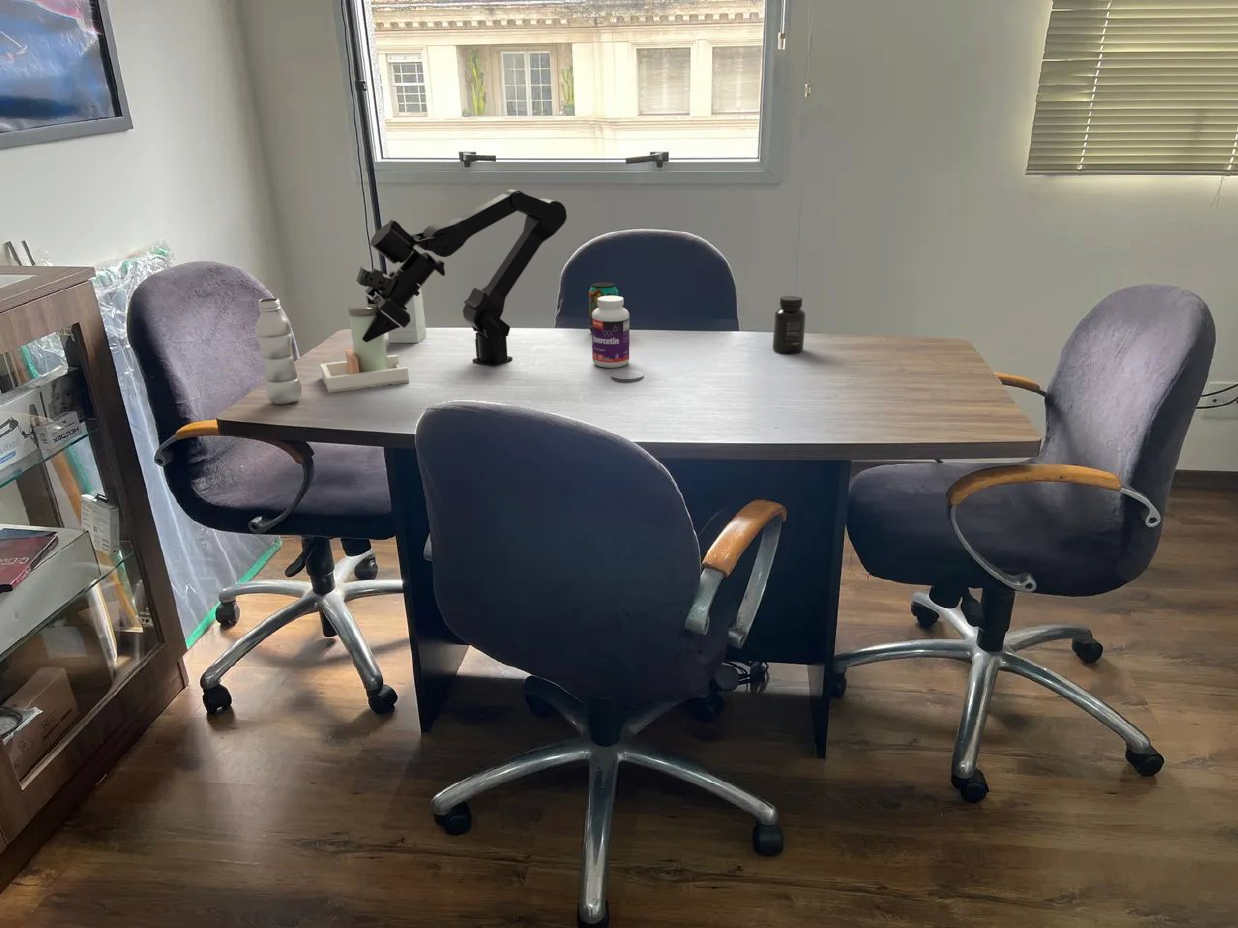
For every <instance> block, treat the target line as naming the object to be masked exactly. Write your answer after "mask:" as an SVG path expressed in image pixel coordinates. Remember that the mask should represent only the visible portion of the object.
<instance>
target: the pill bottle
mask: <svg viewBox="0 0 1238 928" xmlns="http://www.w3.org/2000/svg"><path fill="white" fill-rule="evenodd" d="M624 303H625V300H624V297H623V296H619V295H618V296H602V297H599V298H598V303H597V304H598V306H599V308H597V309H595V310H594V311H593V313H592V332H591V339H592V340H591V341H592V342H591V345H592V346H591V349H592V350H591V352H592V357H591V358H592V362H593V364H595V366H597V367H600V368H606V369H610V368H611V369H612V368H613V369H614V368H621V367H624V366H626V365H628V363H629V361H630V312H629V311H628V310H627V309H626V308H624V307H623V306H624Z"/></svg>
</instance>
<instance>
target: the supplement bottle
mask: <svg viewBox="0 0 1238 928" xmlns="http://www.w3.org/2000/svg"><path fill="white" fill-rule="evenodd" d="M779 307H780V308H778V309H777V310H775V313H774V321H773V335H772V349H773V351H774V352H775V353H778V354H783V355H796V354H800V353H802V352H803V350H804V345H805V344H804V342H805V332H806V331H805V330H806V312H805V311H804V310H803V309H802V307H803V297H800V296H795V295H785V296H781V297H780V299H779Z"/></svg>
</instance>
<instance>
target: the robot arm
mask: <svg viewBox="0 0 1238 928" xmlns="http://www.w3.org/2000/svg"><path fill="white" fill-rule="evenodd" d="M516 212H519V213H522V214H524V215H526V216H525V220H524V225H523V226H524V227H523V230H522V233H521V234H520V235H519V237H518V239H517V240H516V241H515V243H514V245H513V246H512V247H511V249H510V251H509V252H508V254H507V255H506V257H505V258H504V260H503V261H502V263H501V264H500V266H499V267H498V269H497V270H496V272H495V273H494V275H493V276H492V278H491V279H490V281H489V283H487V285H486V286H484V287H483V288H482V289H479V288H477V287H474V288H472V290H471V293H470V295H469V296H468V298H467V299H466V300H463V304H465V305H463V308H462V313H463V315H462V316H463V318H464V320H465V322H466V323H468V325H470V327H472V330H473V332H475V338H474V339H475V340H474V341H475V353H476V355H475V356H476V357H474V358H472V362H473V363H477V364H481V365H482V364H483V365H487V366H491V367H495V366H498V365H500V364H503V363H507V362H509V361H511V360H513V358H514V357H513V356H508V344H507V343H508V342H507V337H508V336H509V334H510V331H511V326H510V325H509V324H507V323H506V322H505V321H504V320H502V319H501V318H502V314H503V313H504V308H505V303H506V298H507V296H509V294H510V292H511V290H512V289H513V287H514V286H515V284H516V283H517V282H518V280H519V278H520V277H521V276H522V274H523V272H524V271H525V269H526V268H527V266H528V265H529V263H530V262H531V260H533V259H532V258H533V257H534V256H535V254H536V253H537V252H538V250H539V248H540V246H541V245H542V244H543V243H545V241H547V240H548V239H550V238H552V237H553V236H554V235H555V234H556V233H557V232H558V231H559V230H560V229H561V228H562V227H563V226H564V224H565V223H566V221H567V217H568V215H567V209H566V207H565V205H564V204H563V203H561V202H560V201H557V200H553V199H548V198H536V197H534V196H531V195H528V194H526V193H524V192H523V191H521V190H516V189H512V188H511V189H507V190H505V191H504V192H503V193H502V194H500V195H498V196H496V197H495V198H493V199H491V200H489V201H488V202H485V203H484V204H481V205H480V206H477V207H475V208H474V209H472V210H471V211H469V212H467V213H465V214H463V215H461V216H460V217H457V218H453V219H449V220H444V221H440V222H437V223H433V224H432V225H429V226H427V227H426V228H424V229H423V231H422V232H417V233H414V234H410V233H409V232H408V231H406V230H405V229H404V228H403V227H402V226H401V225H400V223H398V222H397V221H396V220H394V219H390V221H388V223H387V224H385V225H382V227H381V228H380V229H377V230H376V232H375V233H374V234H373V236H372V237H371V240H370V242H369V243H370V244H369V245H370V246H371V247H372V248H373V249H375V250H376V251H377V252H378V253H379V254H381V255H382V256H383V257H384V258H386V260H388V261H389V262H390V263H391V264H395V265H396V264H397V263H400V264H401V265H400V266H399V268H398V269H396V271H395V270H392V271H390V272H389V273H388V275H387V274H385V273H384V272H383V271H382V270H378V269H376V268H369V267H366V266H360V269H359V272H358V275H357V277H356V280H355V281H356V282H357V283H358V285H360V286H363V287H365V288H366V287H367V289H365V293H366V294H367V295H365V299H366V300H365V301H366V304H378V307H379V308H380V309H381V310H380V309H378V308H377V307H376V306H374V310H375V317H374V319H373V321H372V322H371V324H370V326H369V327H368V329H367V331H366V332H365V334H364V336H363V338H362V340H363V341H365V342H369V341H371V340H373V339H375V338H377V337H379V336H381V335H383V334H384V335H385V334H387V333H388V332H389V331H392V330H394V329H396V328H400V325H401V326H402V327H404V328H405V327H406V326H407V325H408V324H409V322H410V314H409V313H408V312H407V311H406V310H407V308H406V307H405V306H406V305H407V304H408V303H409V301H410V300H411V299H412V298H413V297H414V295H416V296H418V295H419V294H420V292H419V289H420V288H421V289H422V287H423V286H424V284H425V283H426V282H427V281H428V279H430V277H431V276H432V275H433V274H434V273H435V272H437V273H438V274H440V275H441V276H442V277H445V275H446V272H445V271H446V270H445V262H444V261H443V260H441V259H439V260H437V259H435V257H433V256H432V255H431V254H433V255H435V256H438V257H441V258H448V257H449V256H452V255H453V254H455V253H456V252H457V251H458V250H460V249H461V248H462V247H464V245H465V244H466V243H467V241H468V240H469V239H470V238H472V237H473V236H474V235H476V234H478V233H480V232H481V231H483V230H485V229H486V228H489V227H490V226H492V225H493V224H496V223H498V222H499V221H501V220H503V219H504V218H507V217H508V216H510V215H512V214H514V213H516ZM414 247H417V248H419V249H421V250H424V251H428V252H429V253H430V254H429V253H428V252H422V253H420V252H419V251H418V250H417V249H415V248H414ZM419 285H420V286H421V287H420V286H419ZM399 324H400V325H399Z"/></svg>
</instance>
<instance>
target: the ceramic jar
mask: <svg viewBox="0 0 1238 928" xmlns="http://www.w3.org/2000/svg"><path fill="white" fill-rule="evenodd" d="M374 306H376V307H377V308H378V309H380V308H379V307H378V304H367V303H363V304H355V305H351V306H349V307H348V308H347V311H348V312H347V313H348V316H349V324H350V332H351V339H352V346H353V352H354V354H355V355H356V357H357V359H358V367H359V373H363V372H371V371H379V370H387V369H388V362H387V356H388V355H387V345H386V337H385V334H383V335H381V336H379V337H377V338H375V339H373V340H371V341H369V342H365V341H363V340H362V338H363V336H364V334H365V332H366V331H367V329H368V327H369V326H370V324H371V322H372V321H373V319H374V317H375V310H374ZM380 310H381V309H380Z"/></svg>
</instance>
